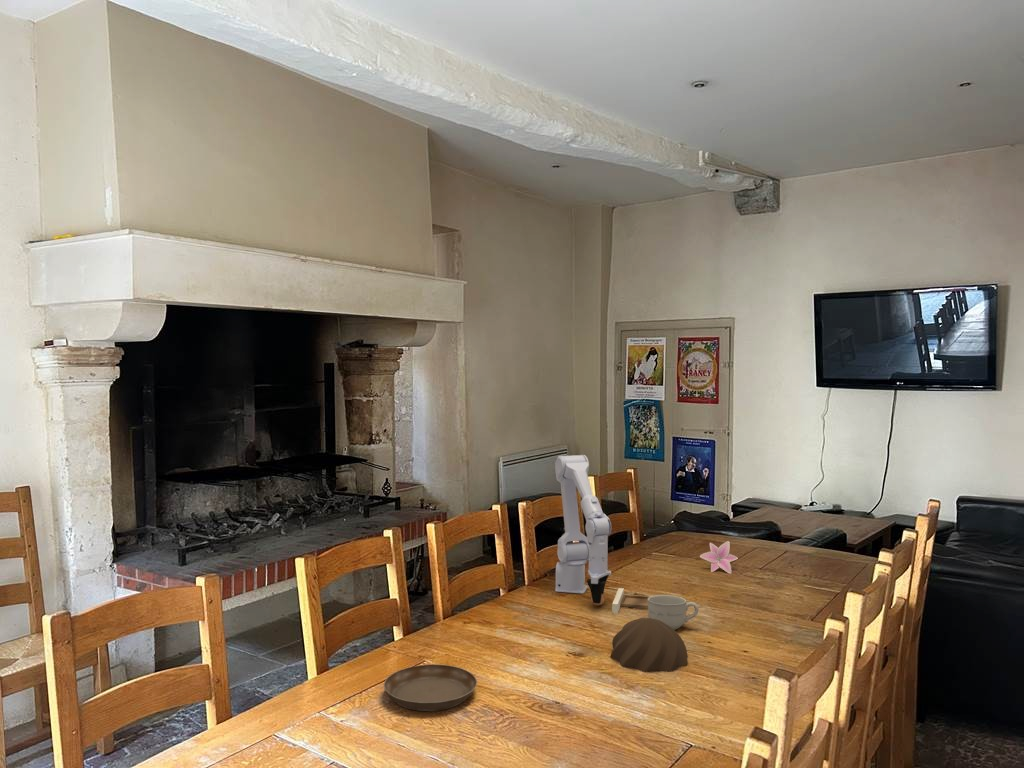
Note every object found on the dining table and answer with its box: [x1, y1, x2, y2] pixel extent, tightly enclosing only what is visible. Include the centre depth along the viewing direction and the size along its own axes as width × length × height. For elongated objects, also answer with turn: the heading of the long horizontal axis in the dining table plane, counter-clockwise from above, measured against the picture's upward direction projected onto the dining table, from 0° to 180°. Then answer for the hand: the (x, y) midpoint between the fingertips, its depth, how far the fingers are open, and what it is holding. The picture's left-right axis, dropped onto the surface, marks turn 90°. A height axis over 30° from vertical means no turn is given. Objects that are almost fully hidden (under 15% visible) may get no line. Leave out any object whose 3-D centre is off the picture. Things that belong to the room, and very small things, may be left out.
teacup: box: [647, 594, 699, 630], centre depth 209 cm, size 14×11×8 cm
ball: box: [590, 593, 605, 606], centre depth 228 cm, size 4×4×4 cm
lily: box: [699, 540, 738, 574], centre depth 269 cm, size 12×12×10 cm
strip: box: [611, 587, 625, 615], centre depth 228 cm, size 2×16×3 cm, turn 165°
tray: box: [620, 594, 650, 610], centre depth 230 cm, size 9×9×1 cm
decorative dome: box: [609, 617, 689, 673], centre depth 188 cm, size 19×20×10 cm
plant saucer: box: [383, 664, 478, 712], centre depth 166 cm, size 21×21×3 cm
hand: (597, 600), depth 228 cm, fingers closed on ball, 4 cm apart
